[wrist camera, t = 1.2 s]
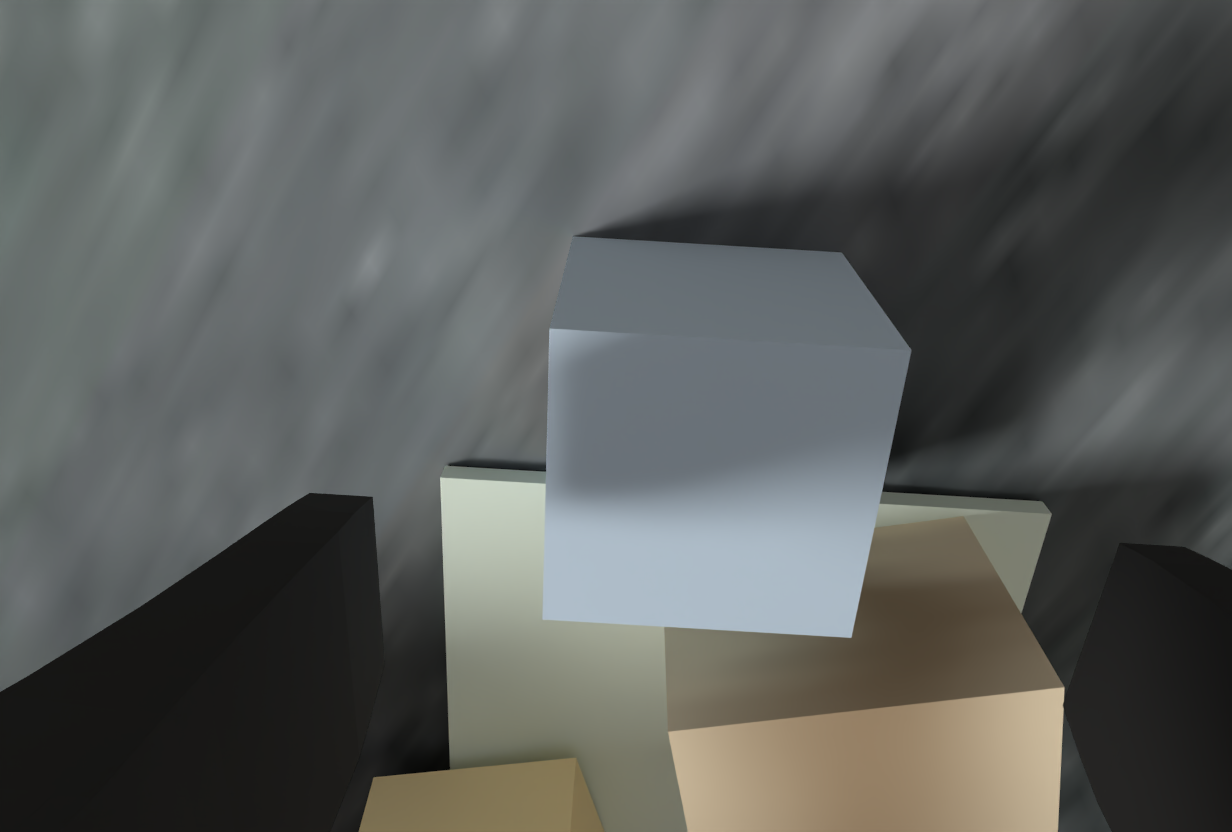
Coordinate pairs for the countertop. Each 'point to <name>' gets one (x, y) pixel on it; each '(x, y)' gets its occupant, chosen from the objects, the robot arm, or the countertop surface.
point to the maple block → (875, 707)
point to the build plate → (604, 643)
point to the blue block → (715, 437)
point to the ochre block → (484, 800)
